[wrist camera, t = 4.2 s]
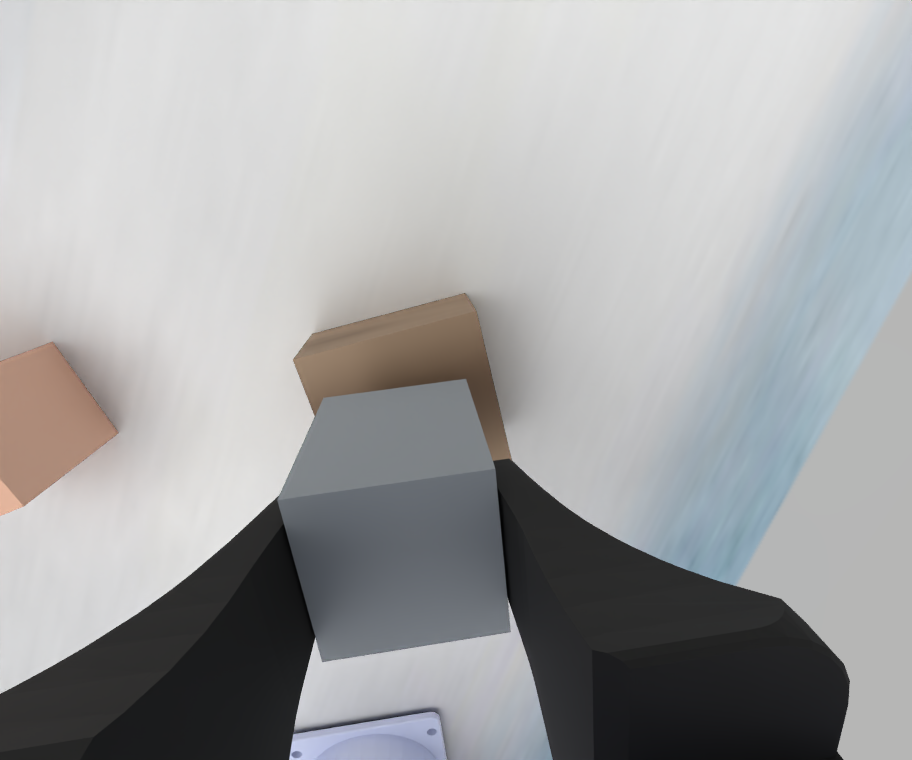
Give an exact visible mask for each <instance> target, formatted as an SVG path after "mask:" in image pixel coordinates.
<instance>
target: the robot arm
mask: <svg viewBox="0 0 912 760" xmlns="http://www.w3.org/2000/svg"><path fill="white" fill-rule="evenodd" d="M493 463H494V466H495V471H496V481H497V492H498V503H499V514H500V524H501V535H502V546H503V557H504V567H505V578H506V589H507V597H508V600H509V603H510V606H511V609H512V612H513V615H514V618H515V621H516V624H517V627H518V630H519V633H520V636H521V639H522V642H523V645H524V648H525V651H526V654H527V657H528V660H529V663H530V667H531V670H532V674H533V677H534V681H535V685H536V689H537V694H538V698H539V702H540V706H541V710H542V715H543V719H544V723H545V727H546V732H547V736H548V740H549V745H550V749H551V754H552V758H553V760H843V759H842V757H841V756H840V755H839V754H838V752H837V748H838V744H839V740H840V736H841V732H842V728H843V724H844V719H845V715H846V711H847V707H848V698H849V684H850V681H849V678H848V674H847V672H846V669H845V666H844V664H843V663H842V661H840V659H839V658H838V657H837V656H836V655H835V654H834V653H833V652H832V651H831V650H830V648H829V647H828V646H827V645H826V644H825V643H824V642H823V641H822V640H821V639H820V638H819V636H818V635H817V634H816V633H815V632H814V631H813V630H812V629H811V628H810V627H809V625H808V624H807V623H806V622H805V621H804V620H803V619H802V618H801V617H800V616H798V615H797V614H796V613H795V612H794V611H793V610H792V609H791V608H790V607H789V606H788V605H787V604H786V603H785V602H784V601H783V600H782V599H779V598H776V597H773V596H769V595H766V594H762V593H758V592H755V591H751V590H748V589H744V588H741V587H737V586H734V585H730V584H726V583H723V582H720V581H717V580H713V579H711V578H708V577H705V576H702V575H699V574H697V573H694V572H691V571H688V570H685V569H682V568H680V567H677V566H675V565H672V564H670V563H667V562H665V561H662V560H660V559H658V558H656V557H653V556H651V555H649V554H647V553H645V552H642V551H640V550H638V549H636V548H634V547H632V546H630V545H628V544H626V543H624V542H622V541H620V540H618V539H616V538H614V537H613V536H611V535H609V534H607V533H605V532H604V531H602V530H600V529H598V528H597V527H595V526H593V525H592V524H590V523H588V522H587V521H585V520H584V519H582V518H581V517H579V516H578V515H576V514H575V513H574V512H572V511H571V510H569V509H568V508H566V507H565V506H564V505H562V504H561V503H560V502H559V501H557V500H556V499H555V498H554V497H552V496H551V495H550V494H549V493H547V492H546V491H545V490H544V489H543V488H541V487H540V486H539V485H538V484H537V483H536V482H535V481H533V480H532V479H531V478H530V477H529V476H528V475H527V474H526V473H525V472H524V471H522V470H521V469H520V468H519V467H518V466H517V465H516V464H515V463H514V462H513V461H512V460H510V459H502V460H495V461H493ZM278 497H279V496H278ZM278 497H277V498H276V499H275V500H274V501H273V502H272V503H270V504H269V505H268V506H267V507H266V508H265V509H264V510H263V511H262V512H261V513H260V514H259V515H258V516H257V517H256V518H254V519H253V520H252V521H251V522H250V523H249V524H248V525H247V526H246V527H245V528H244V529H243V530H242V531H240V532H239V533H238V534H237V535H236V536H235V537H234V538H233V539H232V540H231V541H230V542H229V543H227V544H226V545H225V546H224V547H223V548H222V549H220V550H219V551H218V552H217V553H216V554H214V555H213V556H212V557H211V558H210V559H209V560H207V561H206V562H205V563H204V564H203V565H202V566H200V567H199V568H198V569H197V570H196V571H195V572H193V573H192V574H191V575H190V576H188V577H187V578H186V579H185V580H183V581H182V582H181V583H179V584H178V585H177V586H175V587H174V588H173V589H172V590H170V591H169V592H167V593H166V594H165V595H163V596H162V597H161V598H159V599H158V600H156V601H155V602H154V603H152V604H151V605H149V606H148V607H147V608H145V609H144V610H142V611H141V612H139V613H138V614H136V615H135V616H133V617H132V618H130V619H129V620H127V621H126V622H124V623H122V624H121V625H119V626H118V627H116V628H115V629H113V630H111V631H110V632H108V633H107V634H105V635H104V636H102V637H100V638H99V639H97V640H96V641H94V642H93V643H91V644H89V645H88V646H86V647H85V648H83V649H81V650H79V651H78V652H76V653H74V654H73V655H71V656H69V657H67V658H66V659H64V660H62V661H60V662H59V663H57V664H55V665H53V666H52V667H50V668H48V669H46V670H44V671H43V672H41V673H39V674H37V675H35V676H33V677H32V678H30V679H28V680H26V681H24V682H22V683H20V684H19V685H17V686H15V687H13V688H11V689H9V690H7V691H5V692H3V693H1V694H0V760H447V757H446V751H445V745H444V739H443V733H442V727H441V721H440V716H439V715H438V714H437V713H435V712H425V713H419V714H413V715H407V716H401V717H395V718H389V719H383V720H377V721H370V722H364V723H358V724H352V725H346V726H340V727H334V728H328V729H322V730H316V731H310V732H304V733H297V734H293V732H294V726H295V719H296V714H297V709H298V705H299V700H300V695H301V691H302V687H303V683H304V679H305V675H306V671H307V667H308V663H309V659H310V655H311V652H312V648H313V644H314V640H315V634H314V630H313V627H312V623H311V619H310V616H309V612H308V609H307V605H306V601H305V598H304V594H303V591H302V587H301V583H300V580H299V576H298V573H297V569H296V565H295V562H294V558H293V555H292V551H291V547H290V544H289V540H288V537H287V533H286V529H285V526H284V522H283V519H282V515H281V511H280V508H279V504H278V501H277V500H278Z"/></svg>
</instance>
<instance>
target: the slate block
mask: <svg viewBox="0 0 912 760" xmlns="http://www.w3.org/2000/svg"><path fill="white" fill-rule="evenodd" d="M277 501H278V504H279V508H280V511H281V515H282V519H283V522H284V526H285V529H286V533H287V537H288V540H289V544H290V547H291V551H292V555H293V558H294V562H295V565H296V569H297V573H298V576H299V580H300V583H301V587H302V591H303V594H304V598H305V601H306V605H307V609H308V612H309V616H310V619H311V623H312V627H313V630H314V634H315V637H316V641H317V645H318V648H319V652H320V655H321V659H322V662H326V661H332V660H338V659H344V658H351V657H357V656H363V655H370V654H376V653H382V652H388V651H395V650H401V649H407V648H413V647H420V646H426V645H432V644H438V643H445V642H451V641H457V640H463V639H470V638H476V637H482V636H489V635H495V634H501V633H507V632H510V621H509V610H508V599H507V589H506V578H505V567H504V557H503V546H502V535H501V524H500V514H499V503H498V492H497V481H496V471H495V466H494V463H493V460H492V457H491V454H490V451H489V448H488V445H487V442H486V439H485V436H484V433H483V429H482V426H481V423H480V420H479V417H478V414H477V411H476V408H475V405H474V402H473V399H472V396H471V393H470V390H469V387H468V384H467V381H466V379H461V380H453V381H446V382H438V383H431V384H423V385H416V386H408V387H401V388H394V389H386V390H379V391H371V392H364V393H356V394H349V395H341V396H334V397H326V398H323V400H322V402H321V404H320V407H319V409H318V411H317V413H316V416H315V418H314V420H313V422H312V424H311V427H310V429H309V431H308V433H307V435H306V438H305V440H304V442H303V444H302V447H301V449H300V451H299V453H298V455H297V458H296V460H295V462H294V464H293V466H292V469H291V471H290V473H289V475H288V478H287V480H286V482H285V484H284V486H283V489H282V491H281V493H280V495H279V497H278V500H277Z"/></svg>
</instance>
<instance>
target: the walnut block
mask: <svg viewBox="0 0 912 760" xmlns="http://www.w3.org/2000/svg"><path fill="white" fill-rule="evenodd" d="M293 361H294V364H295V367H296V369H297V372H298V374H299V377H300V379H301V382H302V385H303V387H304V390H305V392H306V395H307V397H308V400H309V402H310V405H311V408H312V410H313V413H314V415H315V416H316V413H317V411H318V409H319V407H320V404H321V402H322V400H323V398H326V397H334V396H341V395H349V394H356V393H364V392H371V391H379V390H386V389H394V388H401V387H408V386H416V385H423V384H431V383H438V382H446V381H453V380H461V379H466V381H467V384H468V387H469V390H470V393H471V396H472V399H473V402H474V405H475V408H476V411H477V414H478V417H479V420H480V423H481V426H482V429H483V433H484V436H485V439H486V442H487V445H488V448H489V451H490V454H491V457H492V460H493V461H495V460H502V459H510V460H512V459H511V455H510V451H509V447H508V442H507V438H506V434H505V430H504V425H503V421H502V417H501V413H500V408H499V404H498V400H497V396H496V392H495V387H494V383H493V379H492V375H491V370H490V366H489V362H488V358H487V354H486V349H485V345H484V341H483V337H482V332H481V328H480V324H479V320H478V316H477V311H476V310H475V308H474V306H473V305H472V303H471V302H470V300H469V298H468V297H467V295H466V294H465V293H464V294H460V295H457V296H453V297H449V298H445V299H442V300H438V301H434V302H430V303H427V304H423V305H419V306H415V307H412V308H408V309H404V310H400V311H397V312H393V313H389V314H385V315H381V316H378V317H374V318H370V319H366V320H363V321H359V322H355V323H351V324H348V325H344V326H340V327H336V328H333V329H329V330H325V331H321V332H318V333H314V334H312V335H311V336H310V338H309V339H308V340H307V342H306V343H305V344H304V346H303V347H302V348H301V350H300V351H299V352H298V354H297V355H296V356H295V358H294V359H293Z"/></svg>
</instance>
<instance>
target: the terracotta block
mask: <svg viewBox="0 0 912 760" xmlns="http://www.w3.org/2000/svg"><path fill="white" fill-rule="evenodd" d="M117 434H118V432H117V430H116V429H115V427H114V426H113V425H112V423H111V422H110V420H109V419H108V418H107V416H106V415H105V414H104V412H103V411H102V409H101V408H100V407H99V405H98V404H97V402H96V401H95V400H94V398H93V397H92V396H91V394H90V393H89V391H88V390H87V389H86V387H85V386H84V384H83V383H82V382H81V380H80V379H79V378H78V376H77V375H76V373H75V372H74V371H73V369H72V368H71V366H70V365H69V364H68V362H67V361H66V360H65V358H64V357H63V355H62V354H61V353H60V351H59V350H58V348H57V347H56V346H55V344H54V343H53V342H51V343H48V344H46V345H43V346H40V347H38V348H35V349H32V350H30V351H27V352H24V353H22V354H19V355H16V356H14V357H11V358H8V359H6V360H3V361H0V516H1V515H4V514H6V513H9V512H11V511H14V510H16V509H19V508H21V507H24V506H25V505H26V504H28V503H29V502H30V501H31V500H33V499H34V498H35V497H37V496H38V495H39V494H40V493H42V492H43V491H44V490H46V489H47V488H48V487H50V486H51V485H52V484H53V483H55V482H56V481H57V480H59V479H60V478H61V477H62V476H64V475H65V474H66V473H68V472H69V471H70V470H72V469H73V468H74V467H75V466H77V465H78V464H79V463H81V462H82V461H83V460H84V459H86V458H87V457H88V456H90V455H91V454H92V453H94V452H95V451H96V450H97V449H99V448H100V447H101V446H103V445H104V444H105V443H106V442H108V441H109V440H110V439H112V438H113V437H114V436H116V435H117Z"/></svg>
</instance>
